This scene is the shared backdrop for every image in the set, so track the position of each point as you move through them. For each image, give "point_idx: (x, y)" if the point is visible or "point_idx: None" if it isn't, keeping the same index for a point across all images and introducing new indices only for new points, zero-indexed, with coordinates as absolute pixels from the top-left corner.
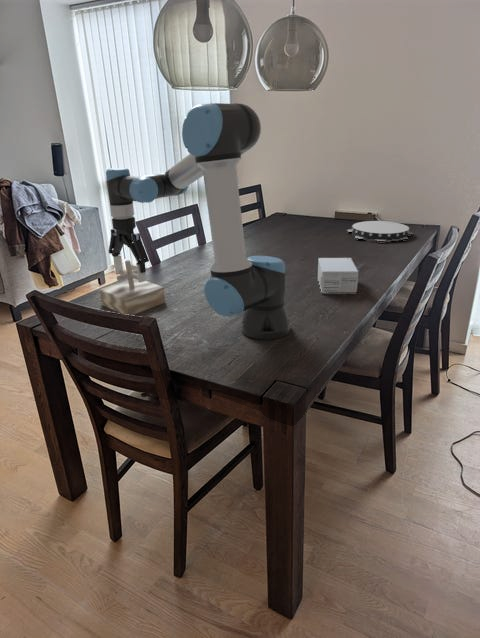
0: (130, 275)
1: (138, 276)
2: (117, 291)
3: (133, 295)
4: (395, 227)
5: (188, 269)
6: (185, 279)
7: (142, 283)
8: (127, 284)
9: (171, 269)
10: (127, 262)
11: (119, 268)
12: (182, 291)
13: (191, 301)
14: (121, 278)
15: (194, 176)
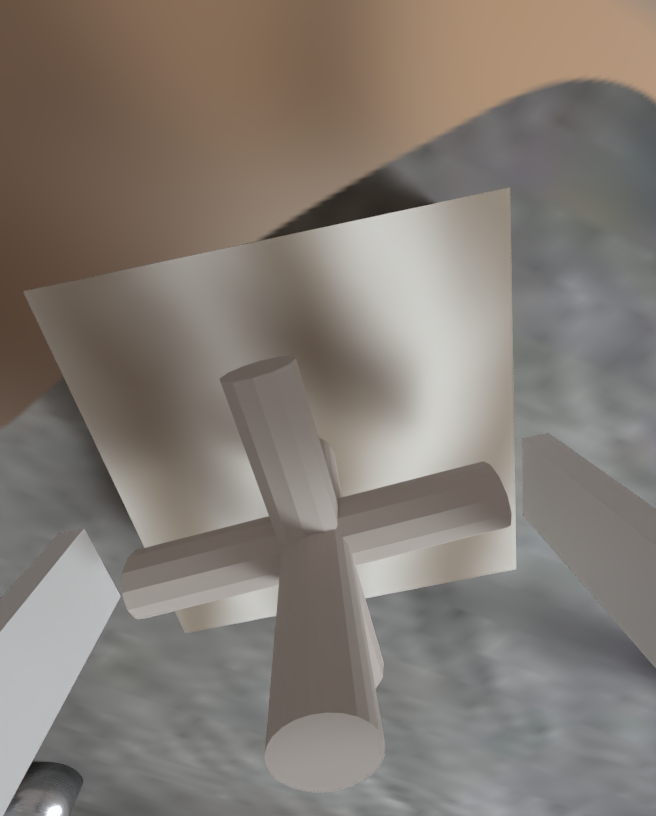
0: (254, 534)
1: (25, 589)
2: (313, 319)
3: (115, 397)
4: None
5: (560, 764)
6: (455, 717)
7: None
8: (426, 461)
9: (628, 720)
10: (273, 723)
11: (567, 521)
12: None
13: (155, 641)
14: (231, 406)
15: None
